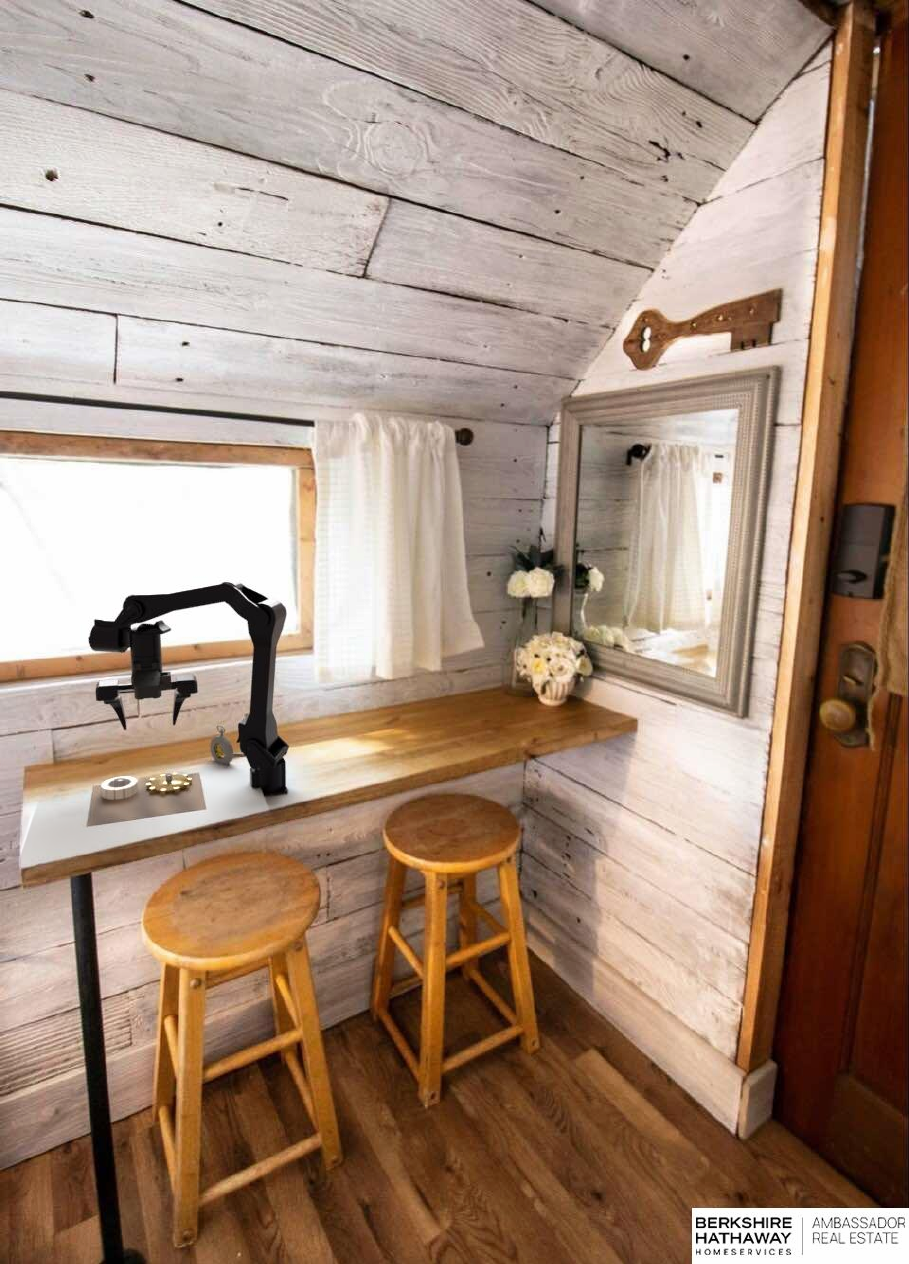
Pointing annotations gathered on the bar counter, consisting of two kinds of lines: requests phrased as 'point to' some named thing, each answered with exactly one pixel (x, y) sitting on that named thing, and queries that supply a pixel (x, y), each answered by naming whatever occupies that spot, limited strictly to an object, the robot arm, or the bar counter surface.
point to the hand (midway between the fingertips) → (150, 727)
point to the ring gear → (119, 788)
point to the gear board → (145, 803)
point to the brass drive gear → (168, 783)
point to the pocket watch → (223, 748)
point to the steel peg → (119, 782)
